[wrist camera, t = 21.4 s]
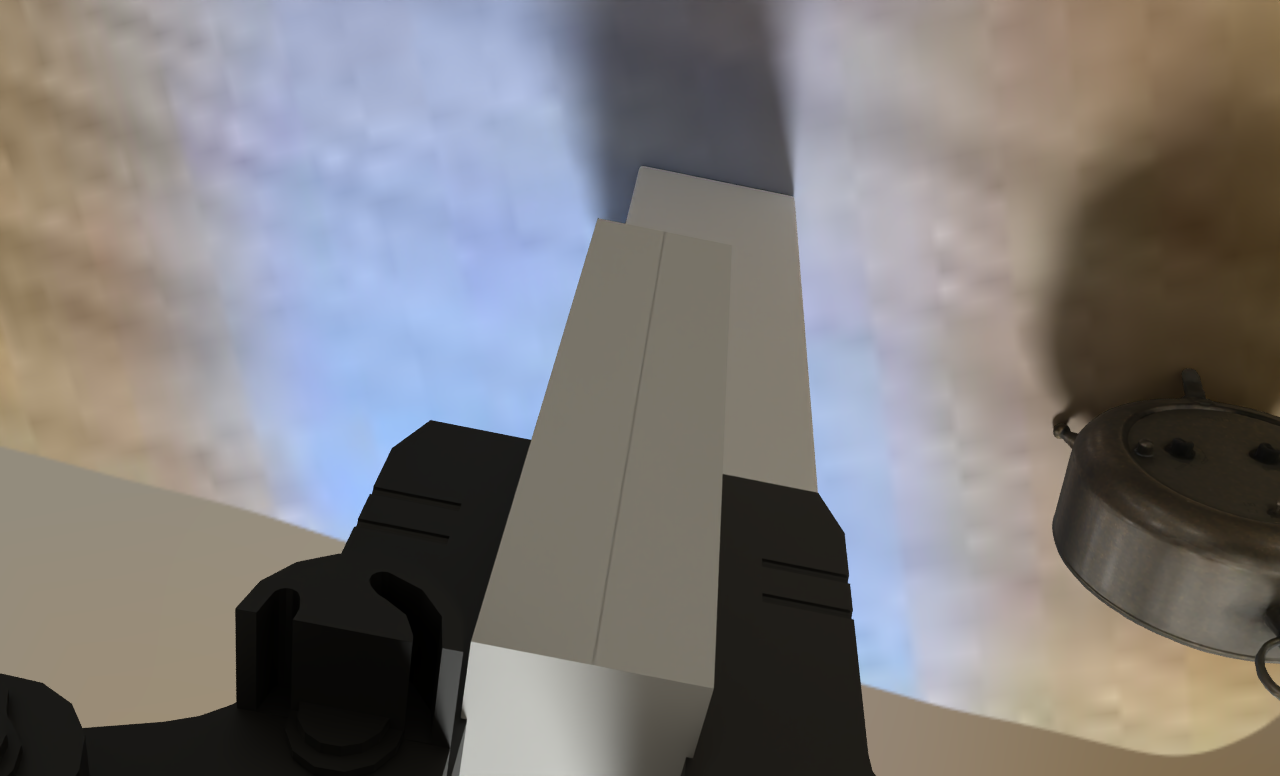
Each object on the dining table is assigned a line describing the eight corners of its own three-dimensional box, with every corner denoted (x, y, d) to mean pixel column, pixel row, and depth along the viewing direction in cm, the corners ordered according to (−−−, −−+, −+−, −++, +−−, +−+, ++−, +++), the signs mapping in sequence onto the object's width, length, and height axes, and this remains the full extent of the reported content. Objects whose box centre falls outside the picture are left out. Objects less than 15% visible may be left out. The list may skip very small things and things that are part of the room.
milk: (758, 330, 46) (763, 772, 27) (611, 301, 46) (515, 725, 27) (796, 191, 43) (830, 584, 24) (637, 159, 43) (549, 530, 24)
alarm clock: (1018, 457, 48) (1124, 764, 34) (1047, 345, 45) (1176, 631, 31) (1285, 479, 48) (1502, 801, 34) (1331, 367, 45) (1589, 668, 31)
